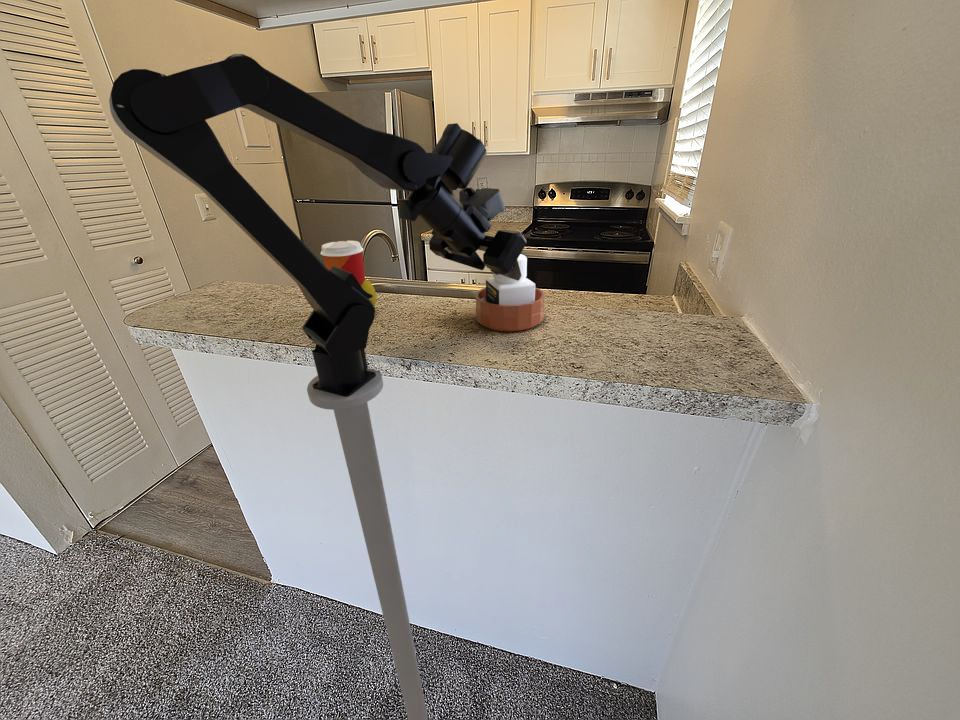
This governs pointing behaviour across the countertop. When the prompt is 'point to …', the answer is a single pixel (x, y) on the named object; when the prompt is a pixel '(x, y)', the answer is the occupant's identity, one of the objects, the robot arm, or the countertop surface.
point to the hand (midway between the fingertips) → (500, 272)
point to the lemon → (369, 290)
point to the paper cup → (345, 257)
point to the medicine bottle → (511, 287)
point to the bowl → (509, 313)
